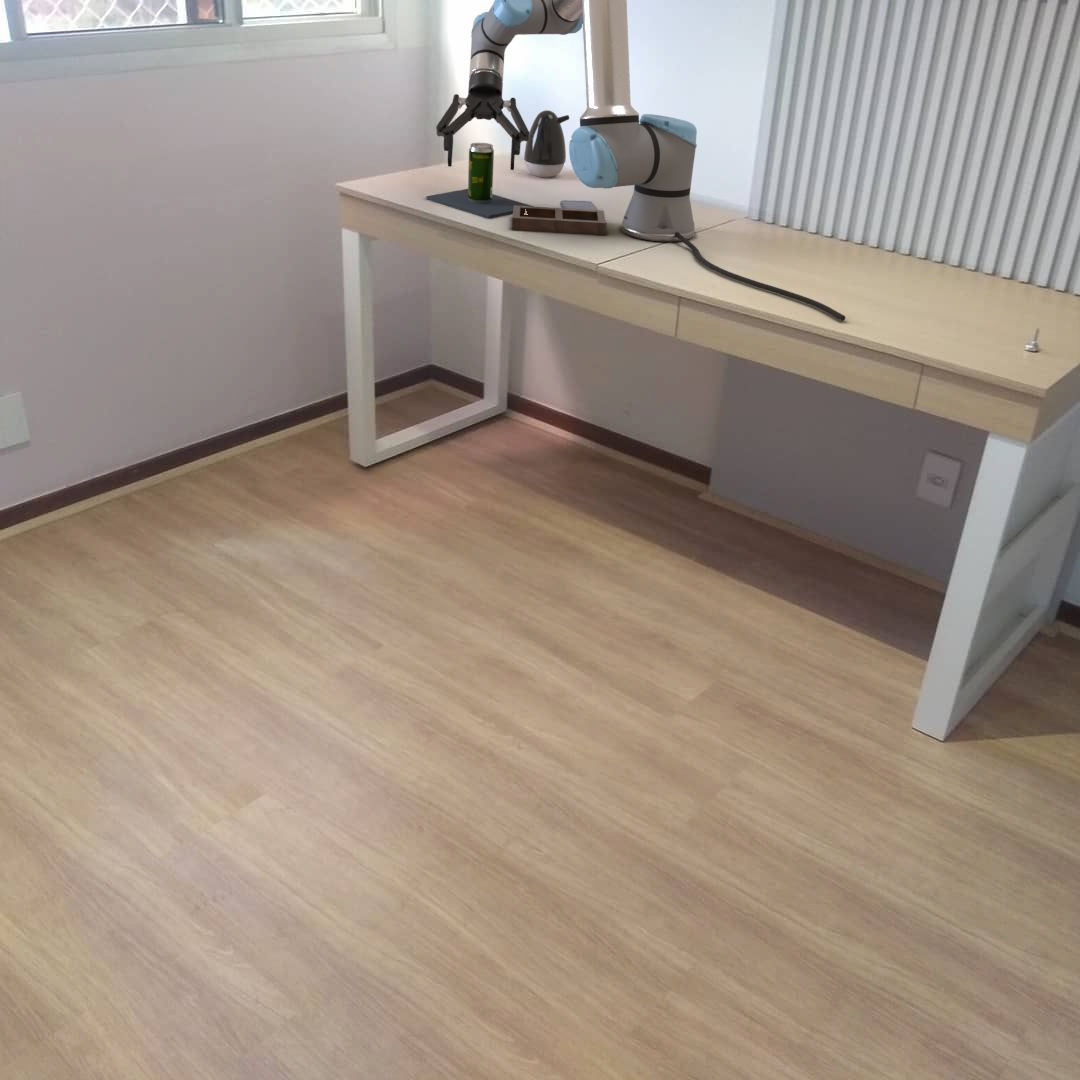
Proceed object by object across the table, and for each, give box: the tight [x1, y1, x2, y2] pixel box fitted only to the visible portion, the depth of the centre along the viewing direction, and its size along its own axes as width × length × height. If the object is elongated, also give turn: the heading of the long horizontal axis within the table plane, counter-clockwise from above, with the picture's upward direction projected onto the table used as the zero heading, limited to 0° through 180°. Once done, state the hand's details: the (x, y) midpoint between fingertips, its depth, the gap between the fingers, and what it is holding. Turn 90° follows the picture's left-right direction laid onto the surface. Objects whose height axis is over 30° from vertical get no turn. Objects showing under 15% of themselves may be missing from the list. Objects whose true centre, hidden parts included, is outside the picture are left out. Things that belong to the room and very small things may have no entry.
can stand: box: [511, 205, 607, 236], centre depth 244 cm, size 19×10×2 cm, turn 90°
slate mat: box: [425, 188, 535, 219], centre depth 257 cm, size 20×14×1 cm
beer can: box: [467, 142, 495, 204], centre depth 254 cm, size 5×5×12 cm
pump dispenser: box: [523, 109, 570, 179], centre depth 281 cm, size 10×10×15 cm
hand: (480, 164), depth 251 cm, fingers open, 13 cm apart
